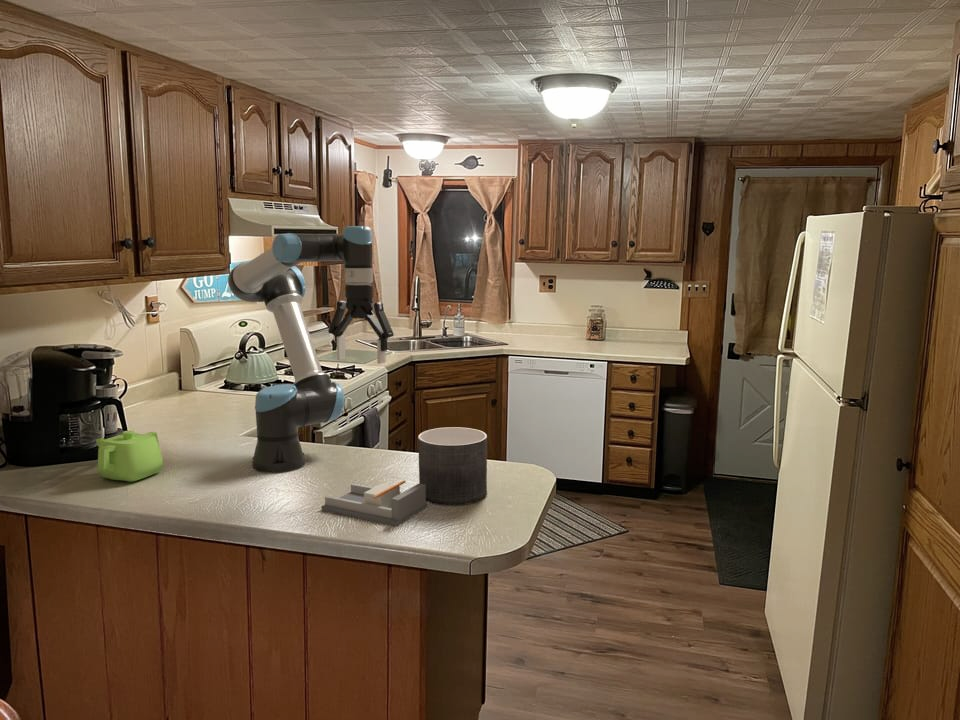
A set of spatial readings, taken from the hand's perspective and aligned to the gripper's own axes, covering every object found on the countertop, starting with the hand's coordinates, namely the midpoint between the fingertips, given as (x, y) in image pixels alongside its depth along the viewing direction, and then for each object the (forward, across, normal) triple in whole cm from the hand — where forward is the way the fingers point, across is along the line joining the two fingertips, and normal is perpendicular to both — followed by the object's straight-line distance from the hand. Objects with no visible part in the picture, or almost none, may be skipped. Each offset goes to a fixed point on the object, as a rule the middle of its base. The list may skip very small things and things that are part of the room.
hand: (361, 361), depth 200 cm
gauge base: (+33, +18, -20) cm, 42 cm away
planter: (+33, +30, -2) cm, 45 cm away
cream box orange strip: (+31, +20, -20) cm, 42 cm away
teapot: (+33, -60, -31) cm, 75 cm away
